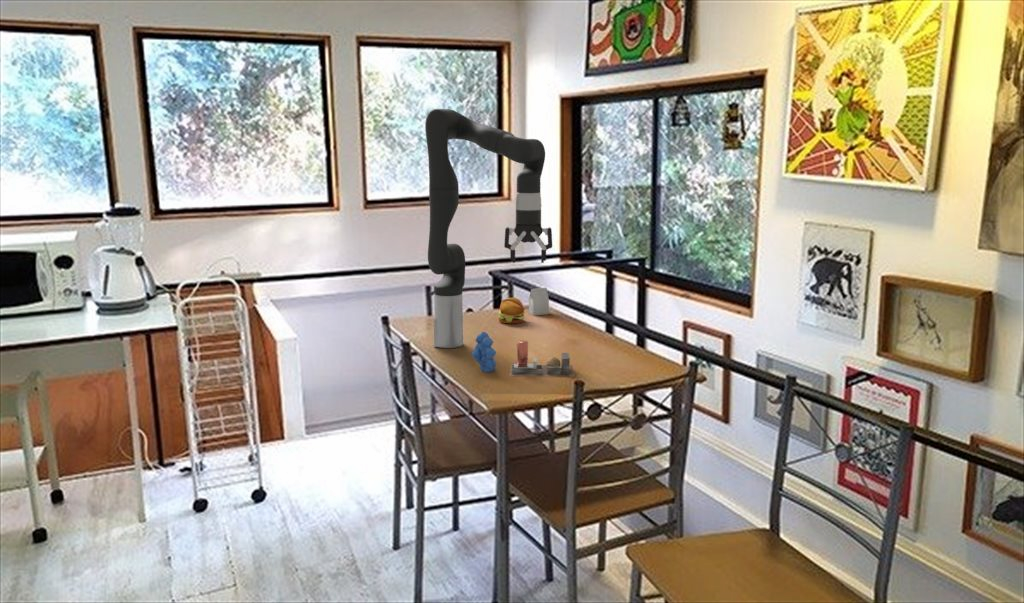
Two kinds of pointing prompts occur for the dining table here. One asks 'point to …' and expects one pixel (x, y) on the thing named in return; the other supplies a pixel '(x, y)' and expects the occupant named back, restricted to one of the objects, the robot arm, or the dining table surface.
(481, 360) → the grapes
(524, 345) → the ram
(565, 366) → the base
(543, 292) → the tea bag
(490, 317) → the dining table surface
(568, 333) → the dining table surface
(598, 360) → the dining table surface
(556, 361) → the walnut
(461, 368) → the dining table surface
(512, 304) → the cheeseburger
